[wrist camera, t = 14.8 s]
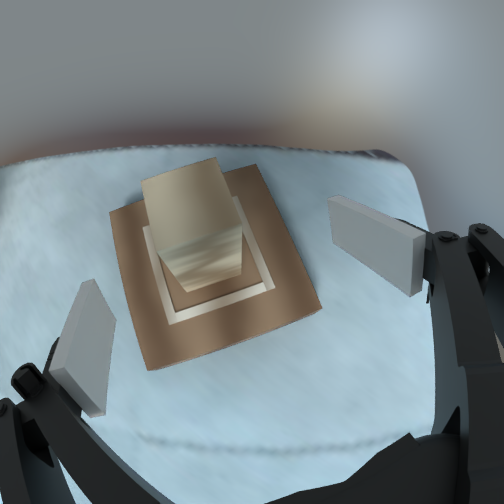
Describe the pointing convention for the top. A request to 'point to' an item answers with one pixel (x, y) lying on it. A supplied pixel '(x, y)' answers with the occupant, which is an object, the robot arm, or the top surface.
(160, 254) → the beech pillar
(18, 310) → the top surface
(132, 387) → the top surface
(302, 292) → the base board
